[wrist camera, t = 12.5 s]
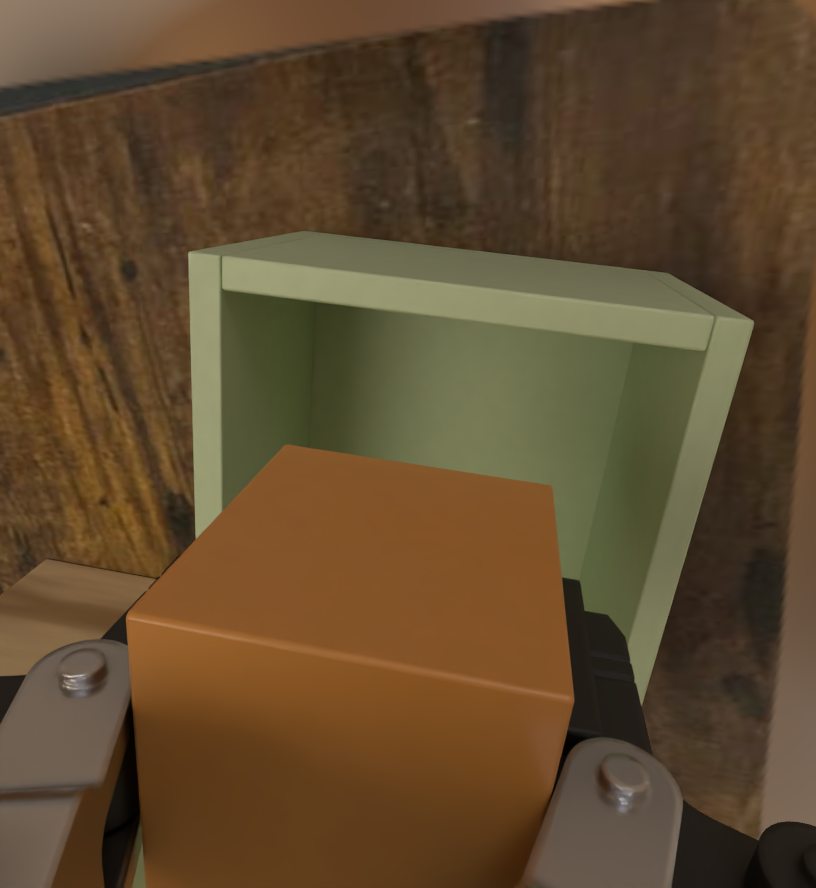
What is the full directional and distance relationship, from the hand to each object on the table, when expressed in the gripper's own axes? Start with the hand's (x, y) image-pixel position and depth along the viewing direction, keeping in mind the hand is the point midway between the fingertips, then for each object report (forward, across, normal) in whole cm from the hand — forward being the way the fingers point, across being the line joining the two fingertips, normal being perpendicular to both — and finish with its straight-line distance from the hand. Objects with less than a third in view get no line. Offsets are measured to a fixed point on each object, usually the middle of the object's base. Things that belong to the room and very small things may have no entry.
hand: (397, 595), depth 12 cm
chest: (+14, 0, +3) cm, 14 cm away
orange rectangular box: (0, 0, 0) cm, 0 cm away
